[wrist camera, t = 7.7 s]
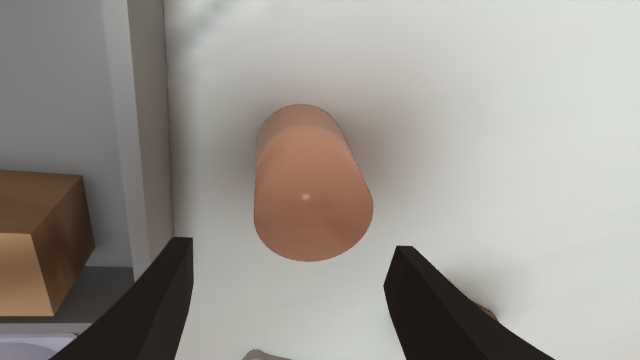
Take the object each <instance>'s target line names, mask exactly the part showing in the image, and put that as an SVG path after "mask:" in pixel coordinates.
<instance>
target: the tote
mask: <svg viewBox="0 0 640 360" xmlns="http://www.w3.org/2000/svg"><path fill="white" fill-rule="evenodd" d="M0 170H13V171H28V172H43V173H57V174H72V175H82V177H83V182H84V188H85V193H86V199H87V204H88V210H89V215H90V221H91V227H92V232H93V238H94V243H95V249H94V250H93V252H92V254H91V255H90V257H89V259H88V260H87V262H86V264H85V265H84V267H83V269H82V270H81V272H80V274H79V275H78V277H77V279H76V280H75V282H74V284H73V285H72V287H71V289H70V290H69V292H68V293H67V295H66V297H65V298H64V300H63V302H62V303H61V305H60V307H59V308H58V310H57V312H56V313H55V315H54V316H0V334H52V333H82V332H84V331H85V330H86V329H87V328H88V327H89V326H91V325H92V324H93V323H94V322H95V321H96V320H97V319H99V318H100V317H101V316H102V315H103V314H104V313H105V312H106V311H107V310H108V309H109V308H110V307H111V306H112V305H114V304H115V302H116V301H117V300H118V299H119V298H120V297H121V296H122V295H123V294H124V293H125V292H126V291H127V290H128V289H129V288H130V287H131V286H132V285H133V284H134V283H135V282H136V281H137V280H138V278H139V277H140V276H141V275H142V274H143V273H144V272H145V270H146V269H147V268H148V267H149V266H150V265H151V263H152V262H153V261H154V260H155V259H156V257H157V256H158V255H159V254H160V252H161V251H162V250H163V248H164V247H165V246H166V244H167V243H168V242H169V240H170V239H171V238H173V237H174V230H173V208H172V186H171V163H170V141H169V119H168V96H167V74H166V52H165V29H164V7H163V0H0Z"/></svg>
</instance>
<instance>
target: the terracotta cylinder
mask: <svg viewBox="0 0 640 360" xmlns="http://www.w3.org/2000/svg"><path fill="white" fill-rule="evenodd" d="M372 215H373V201H372V197H371V194H370V192H369V190H368V187H367V185H366V183H365V181H364V179H363V177H362V175H361V173H360V171H359V168H358V166H357V164H356V162H355V160H354V158H353V156H352V154H351V151H350V149H349V147H348V145H347V143H346V141H345V139H344V137H343V135H342V132H341V130H340V128H339V126H338V124H337V123H336V121H335V120H334V119H333V118H332V116H330V115H329V114H328V113H327V112H325V111H324V110H322V109H320V108H318V107H315V106H311V105H304V104H298V105H291V106H287V107H284V108H282V109H280V110H278V111H276V112H275V113H273V114H272V115H271V116H270V117H268V119H267V120H266V121H265V122H264V124H263V125H262V127H261V129H260V131H259V134H258V137H257V149H256V173H255V198H254V224H255V228H256V231H257V233H258V235H259V237H260V239H261V240H262V241H263V243H264V244H265V245H266V246H267V247H268V248H269V249H271V250H272V251H273V252H275V253H277V254H278V255H280V256H283V257H285V258H288V259H291V260H296V261H305V262H309V261H321V260H325V259H329V258H332V257H335V256H337V255H340V254H342V253H343V252H345V251H347V250H348V249H350V248H351V247H353V246H354V245H355V244H356V243H357V242H358V241H359V240H360V239H361V238H362V237H363V235H364V234H365V233H366V231H367V229H368V227H369V225H370V222H371V220H372Z"/></svg>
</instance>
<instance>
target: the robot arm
mask: <svg viewBox="0 0 640 360" xmlns="http://www.w3.org/2000/svg"><path fill="white" fill-rule="evenodd" d="M193 283H194V279H193V238H185V237H173V238H171V239H170V240H169V242H168V243H167V244H166V246H165V247H164V248H163V250H162V251H161V252H160V254H159V255H158V256H157V257H156V259H155V260H154V261H153V262H152V263H151V265H150V266H149V267H148V268H147V269H146V270H145V272H144V273H143V274H142V275H141V276H140V277H139V278H138V280H137V281H136V282H135V283H134V284H133V285H132V286H131V287H130V288H129V289H128V290H127V291H126V292H125V293H124V294H123V295H122V296H121V297H120V298H119V299H118V300H117V301H116V302H115V304H114V305H112V306H111V307H110V308H109V309H108V310H107V311H106V312H105V313H104V314H103V315H102V316H101V317H100V318H99V319H97V320H96V321H95V322H94V323H93V324H92V325H91V326H89V327H88V328H87V329H86V330H85V331H84V332H82V333H81V334H80V335H79V336H78V337H77V336H76V335H75V334H71V333H52V334H0V360H174V359H175V355H176V352H177V349H178V345H179V342H180V339H181V335H182V332H183V329H184V325H185V322H186V318H187V315H188V311H189V306H190V300H191V295H192V289H193ZM383 286H384V291H385V296H386V301H387V305H388V309H389V313H390V315H391V318H392V321H393V324H394V327H395V329H396V332H397V335H398V337H399V340H400V343H401V345H402V348H403V351H404V354H405V356H406V359H407V360H555V359H553V358H552V357H550V356H548V355H547V354H545V353H543V352H542V351H540V350H538V349H537V348H535V347H534V346H532V345H531V344H529V343H528V342H526V341H524V340H523V339H521V338H520V337H518V336H517V335H515V334H514V333H513V332H511V331H510V330H508V329H507V328H505V327H504V326H503V325H501V324H500V323H499V322H497V321H496V320H495V319H493V318H492V317H491V316H489V315H488V314H487V313H486V312H484V311H483V310H482V309H481V308H479V307H478V306H477V305H476V304H475V303H473V302H472V301H471V300H470V299H469V298H467V297H466V296H465V295H464V294H463V293H462V292H461V291H460V290H458V289H457V288H456V287H455V286H454V285H453V284H452V283H451V282H450V281H449V280H448V279H446V278H445V277H444V276H443V275H442V274H441V273H440V272H439V271H438V270H437V269H436V268H435V267H434V266H433V265H432V264H431V263H430V262H429V261H428V260H427V259H426V258H425V257H423V256H422V255H421V254H420V253H419V252H418V251H417V250H416V249H415V248H414V247H413V246H396V249H395V252H394V255H393V258H392V261H391V264H390V267H389V270H388V273H387V276H386V279H385V282H384V285H383Z"/></svg>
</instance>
